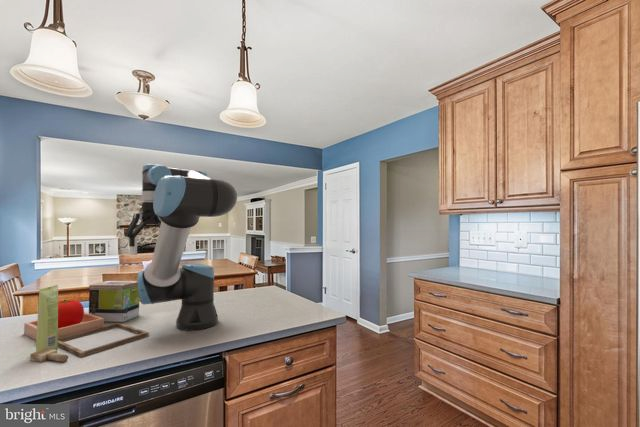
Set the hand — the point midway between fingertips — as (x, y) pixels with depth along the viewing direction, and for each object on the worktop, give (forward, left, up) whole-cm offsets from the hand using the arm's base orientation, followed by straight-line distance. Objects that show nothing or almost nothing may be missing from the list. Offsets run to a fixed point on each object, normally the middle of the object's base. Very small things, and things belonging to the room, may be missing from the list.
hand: (151, 253), depth 126 cm
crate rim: (-8, +21, -27) cm, 35 cm away
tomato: (+12, +24, -26) cm, 38 cm away
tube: (-3, +34, -27) cm, 43 cm away
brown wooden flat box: (+12, +24, -27) cm, 38 cm away
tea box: (+13, +7, -27) cm, 31 cm away
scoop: (-12, +36, -27) cm, 46 cm away
